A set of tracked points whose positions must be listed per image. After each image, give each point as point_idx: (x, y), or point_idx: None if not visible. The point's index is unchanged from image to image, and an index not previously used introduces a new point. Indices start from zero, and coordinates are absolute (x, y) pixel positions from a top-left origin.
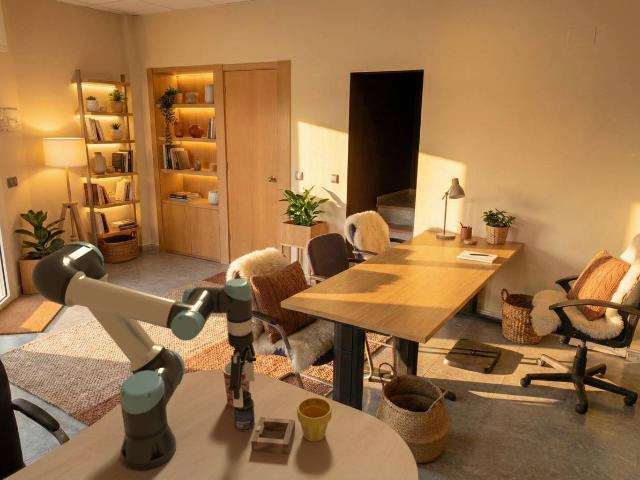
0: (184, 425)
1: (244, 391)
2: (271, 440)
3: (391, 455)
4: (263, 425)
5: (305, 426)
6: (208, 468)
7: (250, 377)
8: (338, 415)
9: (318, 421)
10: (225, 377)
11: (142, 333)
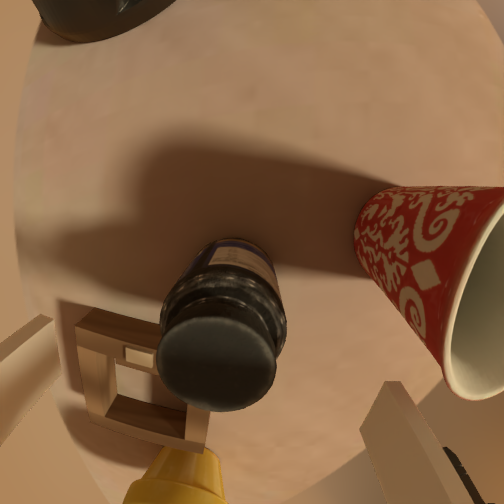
0: (248, 23)
1: (264, 374)
2: (91, 387)
3: None
4: None
5: (142, 478)
6: (28, 175)
7: (378, 433)
8: (265, 493)
9: None
10: (472, 201)
11: None
